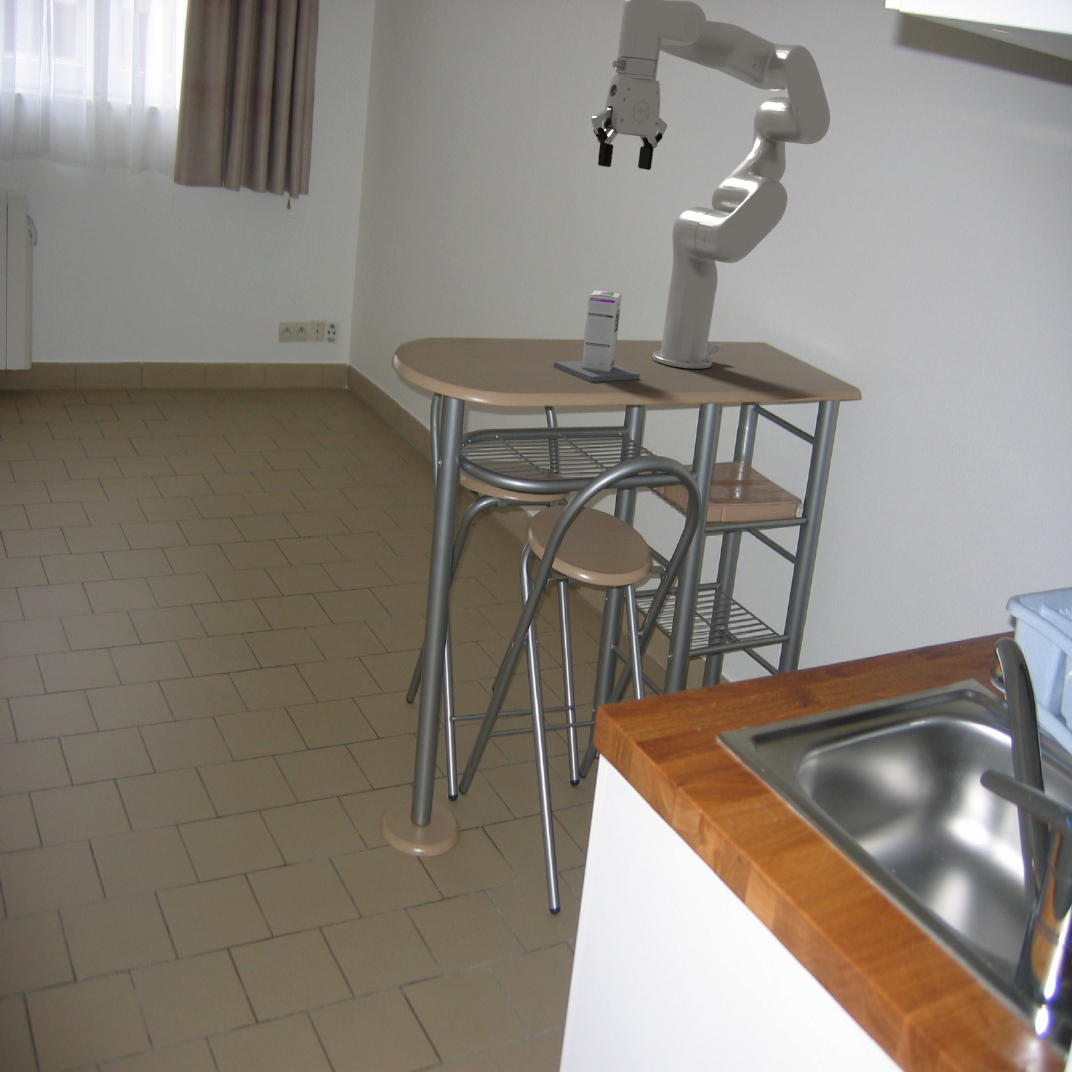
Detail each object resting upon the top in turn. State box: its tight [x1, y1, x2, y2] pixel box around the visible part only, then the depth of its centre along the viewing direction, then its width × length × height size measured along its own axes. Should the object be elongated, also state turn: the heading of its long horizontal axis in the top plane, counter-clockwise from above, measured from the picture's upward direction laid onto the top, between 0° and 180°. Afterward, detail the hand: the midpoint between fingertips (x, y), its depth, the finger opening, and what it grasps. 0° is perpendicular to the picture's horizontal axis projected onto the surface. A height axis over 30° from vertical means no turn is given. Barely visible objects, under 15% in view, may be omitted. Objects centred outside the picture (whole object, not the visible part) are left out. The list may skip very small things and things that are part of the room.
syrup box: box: [581, 290, 622, 372], centre depth 219 cm, size 6×6×14 cm
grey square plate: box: [553, 359, 640, 383], centre depth 222 cm, size 12×12×1 cm
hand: (624, 167), depth 214 cm, fingers open, 9 cm apart
